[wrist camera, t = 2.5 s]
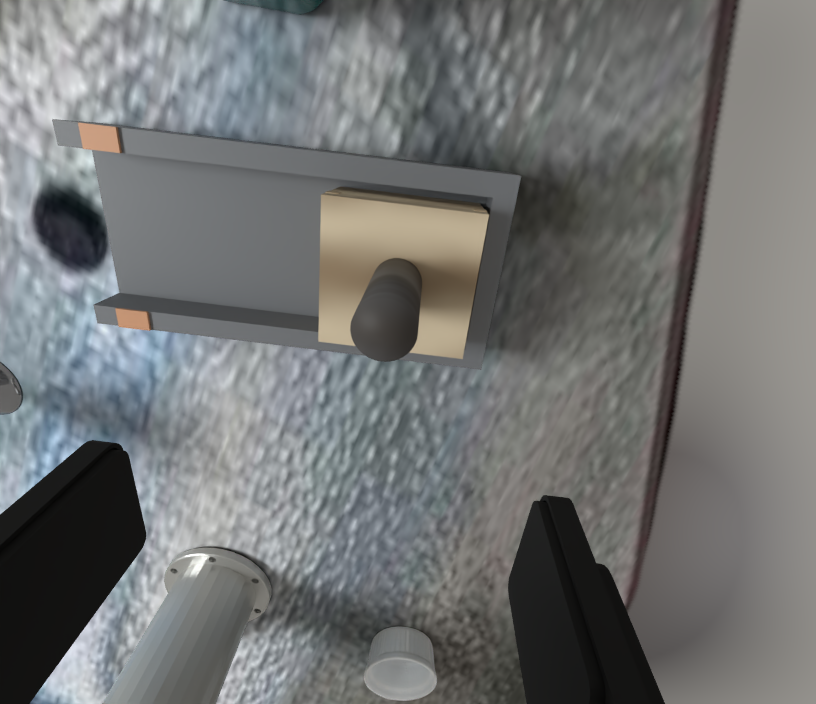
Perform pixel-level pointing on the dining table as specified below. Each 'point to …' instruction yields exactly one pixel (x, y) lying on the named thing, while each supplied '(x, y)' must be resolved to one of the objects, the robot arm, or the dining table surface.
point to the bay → (255, 231)
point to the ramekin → (401, 664)
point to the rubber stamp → (398, 272)
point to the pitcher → (283, 5)
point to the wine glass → (9, 391)
